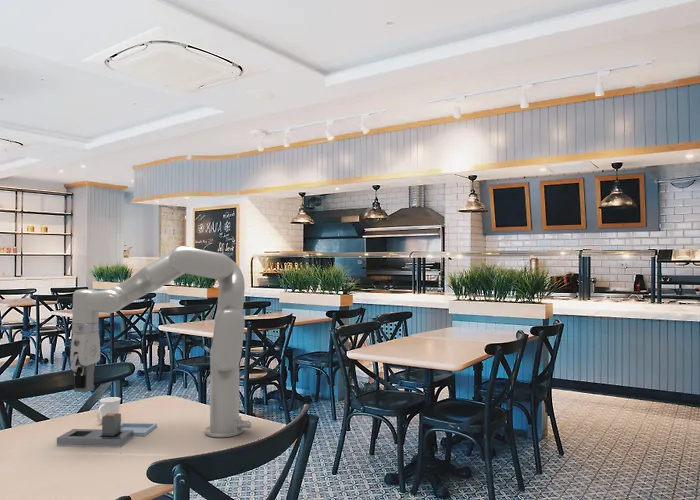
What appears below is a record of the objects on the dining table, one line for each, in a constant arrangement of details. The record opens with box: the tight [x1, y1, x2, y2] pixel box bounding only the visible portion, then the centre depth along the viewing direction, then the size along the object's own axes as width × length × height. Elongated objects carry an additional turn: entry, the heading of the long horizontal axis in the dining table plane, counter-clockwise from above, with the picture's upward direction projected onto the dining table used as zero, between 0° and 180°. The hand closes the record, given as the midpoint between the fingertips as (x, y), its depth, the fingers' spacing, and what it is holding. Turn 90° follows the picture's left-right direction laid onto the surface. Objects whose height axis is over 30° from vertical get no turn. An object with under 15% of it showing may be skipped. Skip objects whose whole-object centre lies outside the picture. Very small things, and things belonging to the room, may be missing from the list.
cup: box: [96, 396, 122, 424], centre depth 195 cm, size 7×10×8 cm
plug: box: [73, 364, 95, 393], centre depth 175 cm, size 4×4×8 cm
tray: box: [121, 422, 158, 437], centre depth 184 cm, size 12×10×2 cm
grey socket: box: [56, 412, 134, 448], centre depth 173 cm, size 20×9×9 cm, turn 87°
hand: (84, 385), depth 175 cm, fingers closed on plug, 4 cm apart
